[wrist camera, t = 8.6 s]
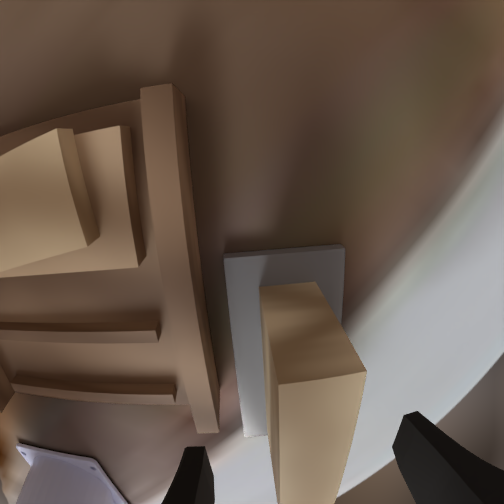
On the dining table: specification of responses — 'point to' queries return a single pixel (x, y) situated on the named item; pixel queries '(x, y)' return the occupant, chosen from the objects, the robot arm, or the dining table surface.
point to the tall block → (308, 392)
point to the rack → (121, 287)
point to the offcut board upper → (43, 201)
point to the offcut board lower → (102, 208)
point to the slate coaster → (248, 310)
